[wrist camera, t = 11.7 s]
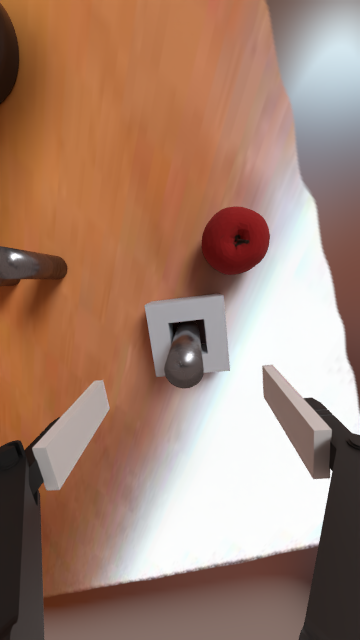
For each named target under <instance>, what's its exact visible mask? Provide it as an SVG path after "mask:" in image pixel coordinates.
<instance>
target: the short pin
mask: <svg viewBox="0 0 360 640" xmlns="http://www.w3.org/2000/svg"><path fill="white" fill-rule="evenodd" d="M19 281H20V279H2V278H0V286H14V285H16V284H18V283H19Z"/></svg>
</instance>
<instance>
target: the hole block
mask: <svg viewBox="0 0 360 640" xmlns="http://www.w3.org/2000/svg"><path fill="white" fill-rule="evenodd" d="M145 311H146V317H147V323H148V329H149V335H150V341H151V348H152V354H153V360H154V366H155V372H156V377H162V376H165V372H164V367H165V363H166V360H167V357H168V354H169V351H170V348H171V345H172V342H173V339H174V332H173V325H172V323H174V322H183V321H192V320H200V319H203V322H204V331H205V341H206V344H201V351H202V359H203V368H204V373H208V372H219V371H230V365H229V353H228V341H227V329H226V318H225V306H224V295H222V294H220V293H217V294H209V295H201V296H193V297H185V298H177V299H168V300H160V301H152V302H150V303H148V304H146V305H145Z"/></svg>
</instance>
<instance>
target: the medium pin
mask: <svg viewBox="0 0 360 640" xmlns="http://www.w3.org/2000/svg"><path fill="white" fill-rule="evenodd" d="M66 273H67V265H66V263H65V261H64V260H63V259H62V258H61V257H58V256H53V255H47V254H42V253H36V252H30V251H24V250H19V249H13V248H7V247H1V246H0V278H2V279H62V278H63V277H64V276H65V275H66Z"/></svg>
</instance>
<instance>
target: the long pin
mask: <svg viewBox="0 0 360 640" xmlns="http://www.w3.org/2000/svg"><path fill="white" fill-rule="evenodd" d="M164 372H165V376H166V378H167V379H168V381H169V382H170V383H171V384H173V385H174V386H176V387H179V388H190V387H193V386H195V385H196V384H198V383H199V382H200V380H201V379H202V377H203V373H204V368H203V359H202V351H201V342H200V334H199V327H198V325H197V324H196V323H195V322H194V321H183V322H180V323H179V325H178V327H177V330H176V333H175V336H174V339H173V342H172V345H171V348H170V351H169V354H168V357H167V360H166V363H165V367H164Z"/></svg>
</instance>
